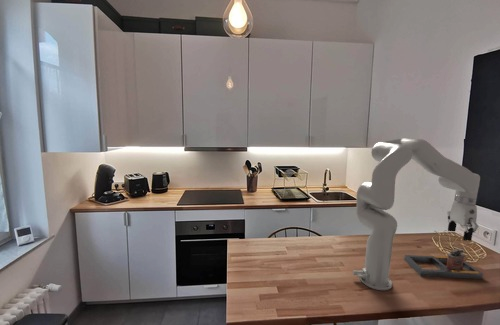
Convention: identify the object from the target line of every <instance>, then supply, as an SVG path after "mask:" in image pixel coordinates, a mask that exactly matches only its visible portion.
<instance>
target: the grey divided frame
mask: <svg viewBox="0 0 500 325" xmlns="http://www.w3.org/2000/svg"><path fill="white" fill-rule="evenodd" d="M403 260H404V261H405V262H406V263H407V264H408V265H409V266H410V267H411V268H412V269H413V270H414V271H415V272H416V273H417V274H418V275H419V276H420V277H434V278H451V279H452V278H454V279H472V280H478V279H479V280H483V277H484V273H482V272H481V271H480V270H478V269H477V268H476V267H474V266H472V265H471V264H470V263H468V262H467V261H466V260H464V261H463V267H462V268H463V269H465V270H462V271H457V270H450V269H449V268H447V265H445V264H447V261H448V256H447V255H445V256H442V255H440V256H439V255H434V256H433V255H415V254H414V255H413V254H411V255H409V254H404V257H403ZM417 262H418V263H432V264H433V265H434V266H435V267H437V268H438V269H425V268H422V267H421V266H420V265H419V264H418V263H417Z"/></svg>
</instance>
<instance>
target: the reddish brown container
mask: <svg viewBox="0 0 500 325" xmlns="http://www.w3.org/2000/svg"><path fill="white" fill-rule="evenodd" d="M447 257H448V261H447V263H446V267H447V268H449V269H450V270H457V271H464V268H463V261H465V258H466V255H465V253H464V249H462V248H459V249H456V248H454V249H451V250H450V253H448V254H447Z"/></svg>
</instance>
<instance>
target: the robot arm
mask: <svg viewBox="0 0 500 325" xmlns="http://www.w3.org/2000/svg"><path fill="white" fill-rule="evenodd" d="M370 153H371V157H372V158H373V160H375V161H377V162H378V163H377V165H376V166H375V167H374V169H373V170H372V173H371V174H372V175H371V181H365V182H364V181H363V183H361V184H360V185H359V187H358V189H357V191H356V214H355V215H356V219H357V221H358V222H359V223H360V224H361V225H362V226H364V227H365V228H367V229H369V230H370V231H371V233H370V235H369V236H368V237H367V240H366V247H365V249H366V250H365V260H364V267H362V269H360V270H356V269H355V270H352V275H353V276H357V278H358V279H359V280H360V281H361V282H362V284H364V285H365V286H366V287H369V288H371V289H372V290H376V291H388V290H390V289H391V288H392V287H393V281H392V280H391V278H390V270H391V261H392V259H391V258H392V251H393V242H394V238H395V235H396V232H397V230H398V222H397V220H396V217H394V216H393V215H391V214H390V213H388V212H386V211H387V210H390V209H392V208H393V206H394V203H395V193H396V192H395V190H396V179H397V178H396V177H397V175H398V173H399V172H400V170H402V168H403V167H404V166H405V165H407V164H408V163H409V162H410V161H411V160H413V161H415V163H417V164H418V165H420V166H421V167H422V168H423V169H424V170H425V171H426V172H427V173H429V174H433V175H434V176H437V177H438V183H439V185H440V186H441V187H443V188H446V189H450V190H455V193H454V199H453V202H452V204H451V209H450V210H449V211H447V220H448V221H447V222H448V226H447V231H448V232H456V230H457V229H456V228H457V225H460V226H463V228H464V232H463V237H462V240H463V241H469V242H470V241H472V238H473V233H475V232H476V231H477V229H478V228H479V224H478V223H477V216H478V207H477V205H476V204H477V199H478V194H479V193H478V192H479V188H480V181H481V176H480V175H479V174H478V173H474V172H472V171H471V170H469V168H467V167H465V166H463V165H461V164H460V163H457V162H455V161H453V160H452V159H450V158H447V157H446V156H444V155H443V153H441V152H439V150H437V149H436V147H434V146H433V145H432V144H431V143H430V142H428V141H427V140H425V139H422V138H413V137H411V138H410V137H402V138H401V137H400V138H396V139H391V140H390V139H389V140H385V141H379V142H377V143H375V144H374V146H372V148H371V152H370Z"/></svg>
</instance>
